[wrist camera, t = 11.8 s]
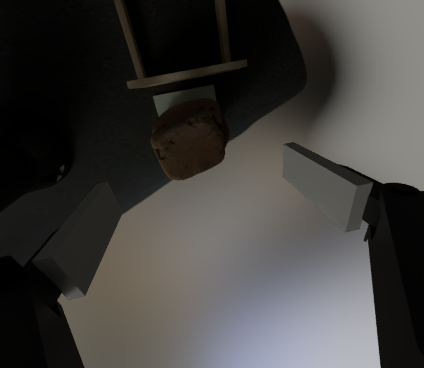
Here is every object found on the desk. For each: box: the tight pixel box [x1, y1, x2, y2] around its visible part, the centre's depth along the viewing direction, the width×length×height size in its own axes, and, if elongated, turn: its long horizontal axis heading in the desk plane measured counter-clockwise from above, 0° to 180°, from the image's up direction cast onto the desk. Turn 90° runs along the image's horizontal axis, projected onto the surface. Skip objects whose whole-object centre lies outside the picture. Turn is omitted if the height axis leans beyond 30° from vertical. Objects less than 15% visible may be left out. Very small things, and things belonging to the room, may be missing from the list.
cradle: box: [114, 0, 247, 89], centre depth 27 cm, size 16×16×12 cm
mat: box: [153, 85, 216, 116], centre depth 39 cm, size 12×11×1 cm
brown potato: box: [150, 98, 229, 180], centre depth 30 cm, size 11×8×20 cm
